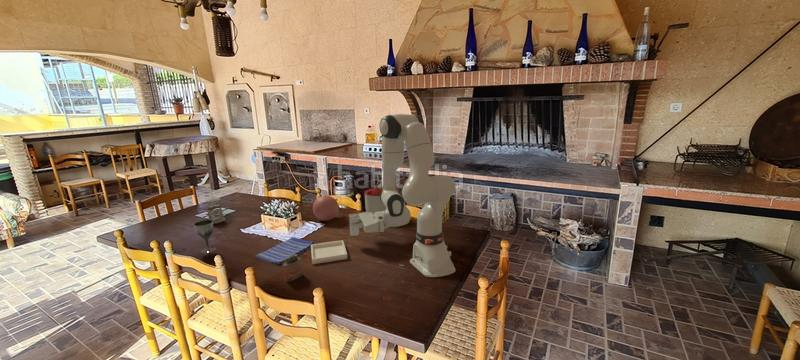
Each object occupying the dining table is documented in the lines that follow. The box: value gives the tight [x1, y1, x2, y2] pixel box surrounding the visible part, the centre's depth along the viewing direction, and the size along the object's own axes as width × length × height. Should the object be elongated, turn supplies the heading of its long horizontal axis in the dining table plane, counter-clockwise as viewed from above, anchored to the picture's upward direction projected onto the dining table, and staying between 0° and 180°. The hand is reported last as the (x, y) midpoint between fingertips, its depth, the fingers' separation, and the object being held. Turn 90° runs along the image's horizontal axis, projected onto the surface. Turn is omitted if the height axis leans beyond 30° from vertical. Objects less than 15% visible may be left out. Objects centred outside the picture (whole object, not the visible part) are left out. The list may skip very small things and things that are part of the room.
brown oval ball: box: [312, 195, 340, 222], centre depth 206 cm, size 15×20×15 cm
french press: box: [204, 181, 227, 224], centre depth 207 cm, size 10×12×25 cm
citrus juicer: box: [363, 186, 386, 214], centre depth 205 cm, size 16×17×20 cm
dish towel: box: [254, 236, 315, 266], centre depth 166 cm, size 17×24×3 cm
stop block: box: [348, 213, 360, 237], centre depth 167 cm, size 4×4×10 cm
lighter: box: [282, 254, 303, 283], centre depth 141 cm, size 8×3×10 cm, turn 141°
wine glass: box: [193, 219, 217, 255], centre depth 167 cm, size 8×8×15 cm
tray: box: [310, 239, 348, 265], centre depth 162 cm, size 16×16×2 cm
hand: (352, 223), depth 167 cm, fingers closed on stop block, 4 cm apart
